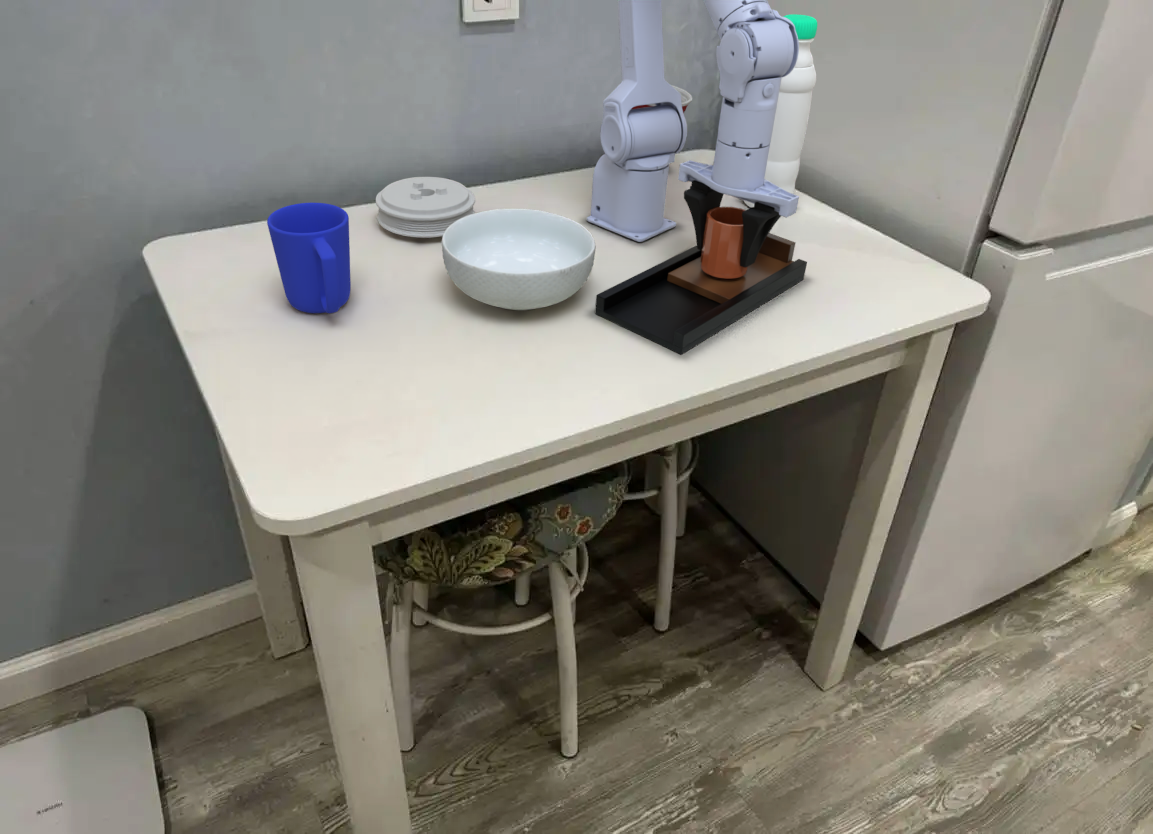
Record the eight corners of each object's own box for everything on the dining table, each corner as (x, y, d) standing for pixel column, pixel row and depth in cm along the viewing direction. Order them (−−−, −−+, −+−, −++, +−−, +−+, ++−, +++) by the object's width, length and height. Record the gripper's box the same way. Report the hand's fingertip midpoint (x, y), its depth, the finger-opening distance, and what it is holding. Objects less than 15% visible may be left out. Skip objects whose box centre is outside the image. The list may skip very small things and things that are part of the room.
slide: (666, 280, 105) (670, 254, 103) (733, 246, 114) (737, 221, 112) (729, 307, 100) (733, 280, 98) (793, 268, 109) (798, 243, 107)
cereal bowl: (467, 341, 94) (465, 281, 89) (428, 272, 106) (425, 216, 102) (615, 318, 99) (620, 259, 95) (562, 254, 111) (564, 200, 107)
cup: (691, 267, 105) (697, 215, 101) (717, 253, 108) (725, 202, 104) (730, 283, 102) (738, 230, 98) (756, 268, 105) (765, 216, 101)
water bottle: (795, 215, 125) (833, 24, 110) (745, 212, 125) (776, 21, 110) (786, 195, 131) (821, 12, 116) (738, 193, 130) (767, 9, 116)
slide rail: (594, 313, 100) (596, 294, 98) (722, 248, 115) (724, 230, 114) (681, 355, 93) (683, 335, 92) (803, 279, 109) (807, 261, 107)
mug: (299, 344, 92) (285, 255, 86) (273, 292, 100) (259, 208, 94) (377, 328, 95) (369, 241, 89) (346, 279, 103) (336, 197, 98)
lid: (493, 232, 116) (492, 195, 113) (403, 252, 110) (400, 214, 107) (448, 198, 124) (446, 163, 121) (362, 215, 118) (358, 179, 115)
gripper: (821, 149, 95) (797, 265, 103) (709, 116, 102) (695, 226, 110) (787, 164, 90) (764, 285, 98) (672, 129, 98) (660, 243, 106)
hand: (725, 255), depth 104 cm, fingers closed on cup, 5 cm apart
